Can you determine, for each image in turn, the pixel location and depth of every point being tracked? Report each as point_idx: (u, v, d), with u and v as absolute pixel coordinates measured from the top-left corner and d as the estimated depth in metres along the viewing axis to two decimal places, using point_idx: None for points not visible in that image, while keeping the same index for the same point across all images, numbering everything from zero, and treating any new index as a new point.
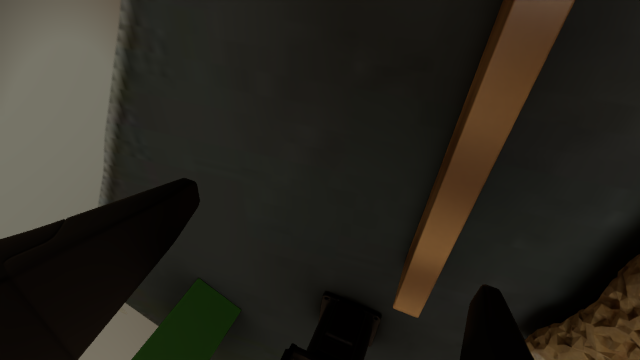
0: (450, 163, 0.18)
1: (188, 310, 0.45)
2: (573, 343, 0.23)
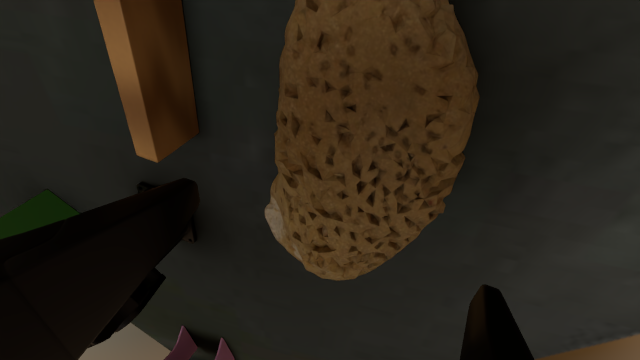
0: None
1: (27, 216, 0.44)
2: None
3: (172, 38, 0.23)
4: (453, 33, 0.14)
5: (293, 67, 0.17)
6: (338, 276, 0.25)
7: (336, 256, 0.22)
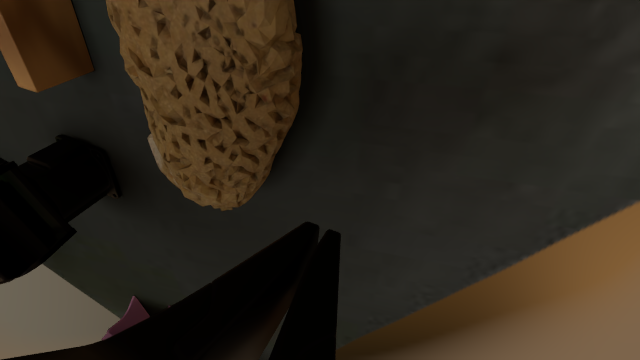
0: None
1: None
2: None
3: None
4: None
5: None
6: (213, 201, 0.24)
7: (197, 172, 0.22)
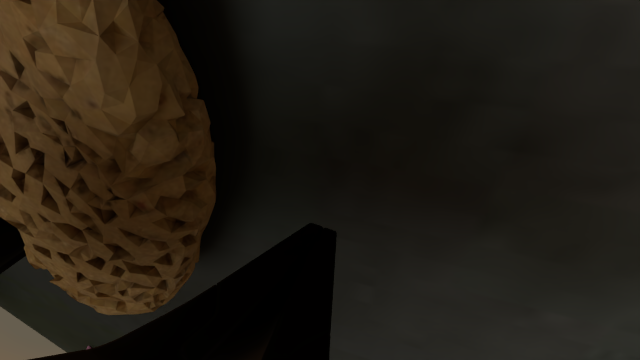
0: None
1: None
2: None
3: None
4: None
5: None
6: (112, 311, 0.17)
7: (74, 286, 0.15)
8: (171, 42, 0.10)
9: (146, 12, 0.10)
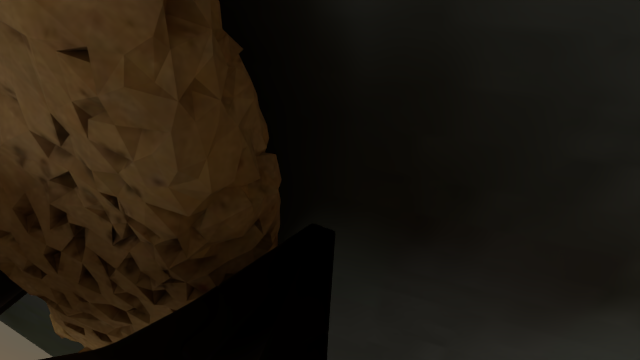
0: None
1: None
2: None
3: None
4: None
5: None
6: None
7: None
8: (251, 93, 0.08)
9: None
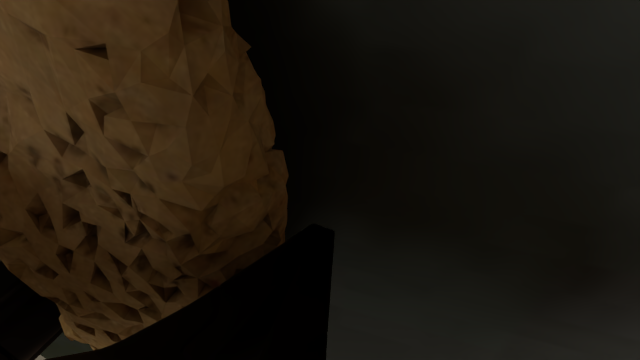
0: None
1: None
2: None
3: None
4: None
5: None
6: None
7: None
8: (260, 89, 0.08)
9: None
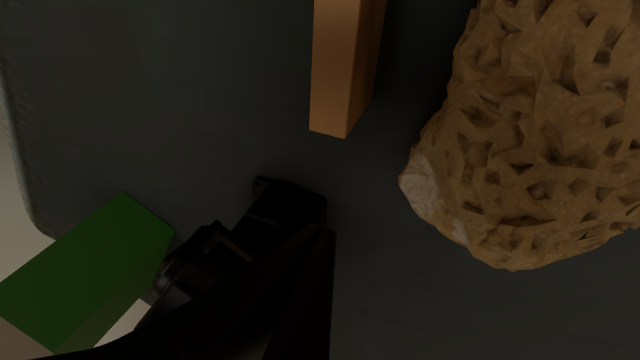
0: None
1: (104, 223, 0.36)
2: (447, 103, 0.15)
3: None
4: None
5: None
6: (527, 263, 0.17)
7: (550, 230, 0.15)
8: None
9: None
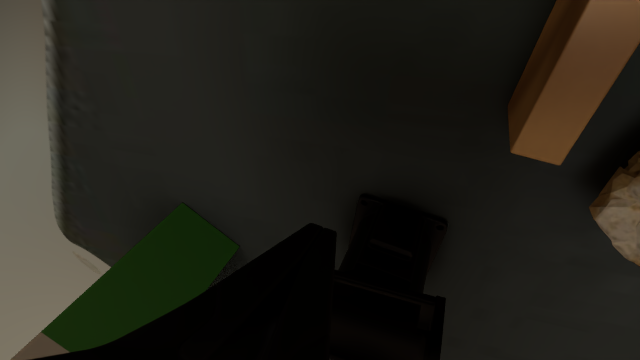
0: None
1: (167, 239, 0.33)
2: None
3: None
4: None
5: None
6: None
7: None
8: None
9: None
